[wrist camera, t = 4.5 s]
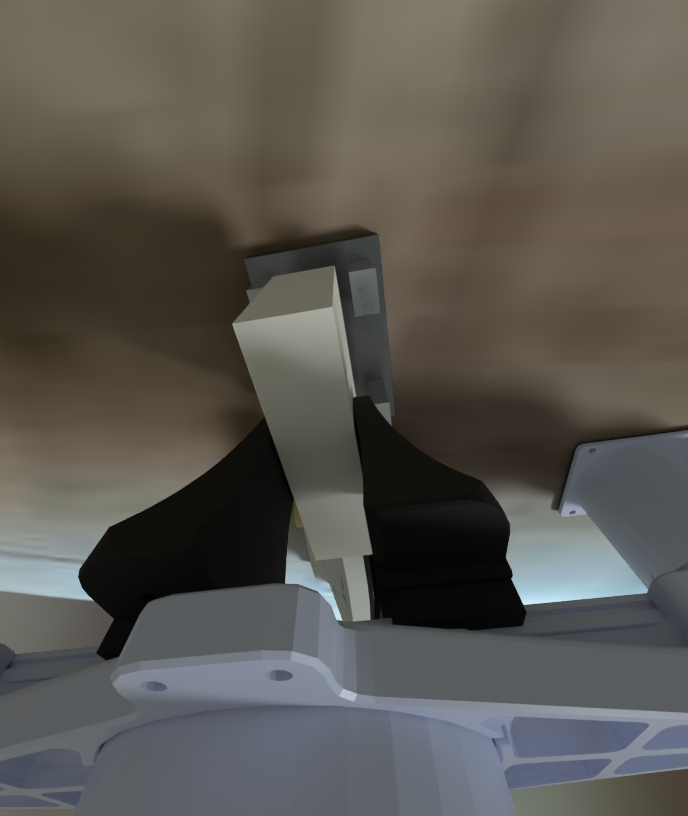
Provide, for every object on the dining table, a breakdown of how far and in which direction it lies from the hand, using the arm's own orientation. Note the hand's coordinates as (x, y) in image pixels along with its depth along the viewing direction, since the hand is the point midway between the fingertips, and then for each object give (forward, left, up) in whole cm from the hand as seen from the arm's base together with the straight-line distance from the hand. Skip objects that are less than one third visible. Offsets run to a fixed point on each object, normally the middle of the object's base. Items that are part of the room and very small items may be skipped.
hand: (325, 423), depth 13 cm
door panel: (0, 0, -3) cm, 4 cm away
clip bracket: (0, 0, -9) cm, 9 cm away
